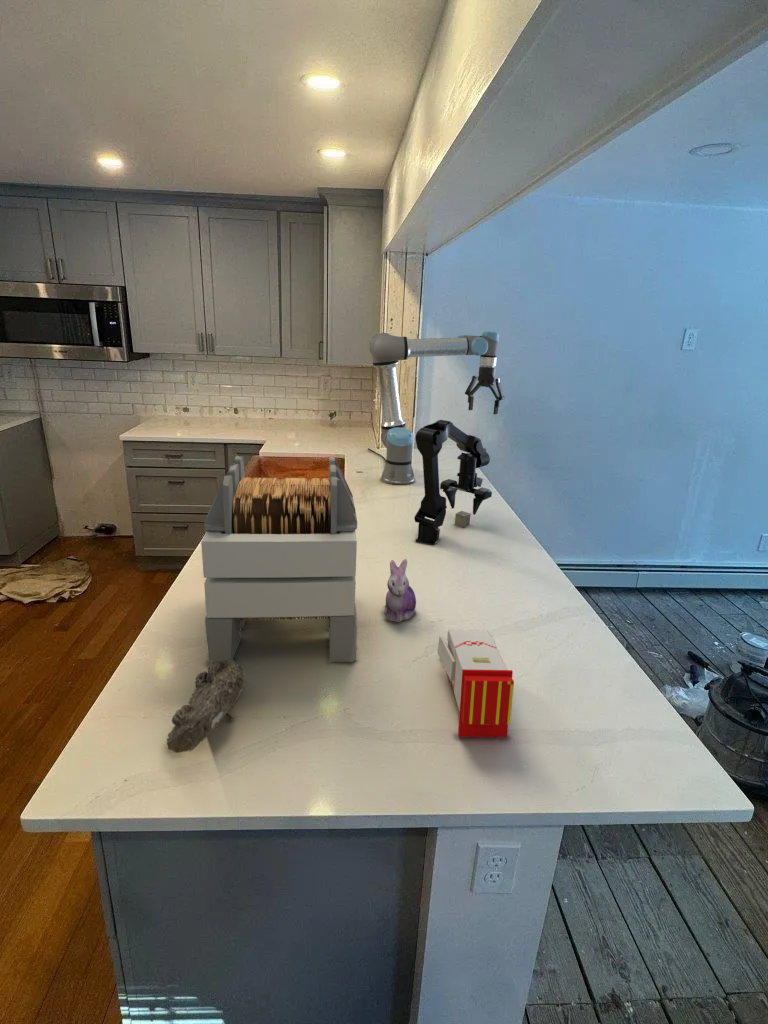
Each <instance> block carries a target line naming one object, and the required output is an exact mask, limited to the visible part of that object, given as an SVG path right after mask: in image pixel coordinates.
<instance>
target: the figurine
mask: <svg viewBox="0 0 768 1024" xmlns="http://www.w3.org/2000/svg"><path fill="white" fill-rule="evenodd" d="M407 567H408V559H406V558H404V559H403V560H402V561H401V563H400V565H399V566H398V565H397V563H396V562H395V561H394V560H393V559H391V560H390V561H389V570H390V576H389V578H388V579H387V589H388V591H387V592H386V594H385V595H386V596H385V607H384V615H385V616H386V620H387V621H391V622H395V623H400V622H402V621H406V620H409V619H410V618H411V617H413V616H414V615H415V610H416V606H417V597H416V593H415V591H414V590H413V587H411V586H410V582H409V579H408V577H407V574H406V571H407Z"/></svg>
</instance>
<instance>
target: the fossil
mask: <svg viewBox="0 0 768 1024" xmlns="http://www.w3.org/2000/svg"><path fill="white" fill-rule="evenodd" d="M243 670H244V669H243V667H242V665H240V664H237V662H236V661H235V660H234V659H233V660H232V659H231V660H228V659H227V660H224V661H223V662H222V661H217V660H212V661H211V662H210V665H209V664H208V666H207V671H201V672H199V673H198V674H197V675H196V676H195V680H194V684H195V685H194V687H195V689H194V690H193V693H192V694H191V697H190V698H189V700H188V704H184V705H182V706H181V707H180V709H177V710H176V711H175V713H174V715H173V716H172V718H171V723H172V724H173V727H172V730H171V731H170V732H168V734H167V738H166V741H167V742H166V745H167V749H168V750H169V751H173V752H174V753H176V754H178V753H182V752H188V751H189V752H192V751H193V750H195V748H196V747H197V746H199V744H200V743H201V742H203V741H204V740H205V739H206V738H207V737H208V736H209V735H210V734H211V733H212V732H214V730H215V729H217V727H218V726H219V724H220V722H221V721H222V720H223V719H224V718H225V716H226V717H227V719H229V720H233V717H232V715H230V714H229V710H230V709H231V708H234V706H235V704H236V703H237V702H238V699H239V697H240V695H241V693H242V691H243V690H245V689H244V688H245V675H244V671H243Z"/></svg>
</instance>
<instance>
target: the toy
mask: <svg viewBox="0 0 768 1024" xmlns="http://www.w3.org/2000/svg"><path fill="white" fill-rule="evenodd" d="M446 640H447V643H446V641H445V639H444V636H443V635H442V634H439V637H438V646H437V656H438V657H439V659H440V661H441V663H442V666H443V668H444V670H445V672H446V674H447V677H448V679H449V681H450V684H451V687H452V690H453V693H454V697H455V701H456V705H457V708H458V711H459V714H458V715H459V716H458V730H457V731H458V732H457V737H458V738H508V731H509V726H510V725H511V717H512V707H513V697H514V696H513V695H514V684H515V680H514V679H513V673H514V671H513V670H512V669H508V667H507V665H506V662H505V661H504V659H503V658H502V655H501V653H500V651H499V649H498V647H497V643H496V639H495V637H494V635H493V634H491V632H490V631H489V629H467V628H466V629H465V628H463V629H461V628H460V629H459V628H448V630H447V639H446Z"/></svg>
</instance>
